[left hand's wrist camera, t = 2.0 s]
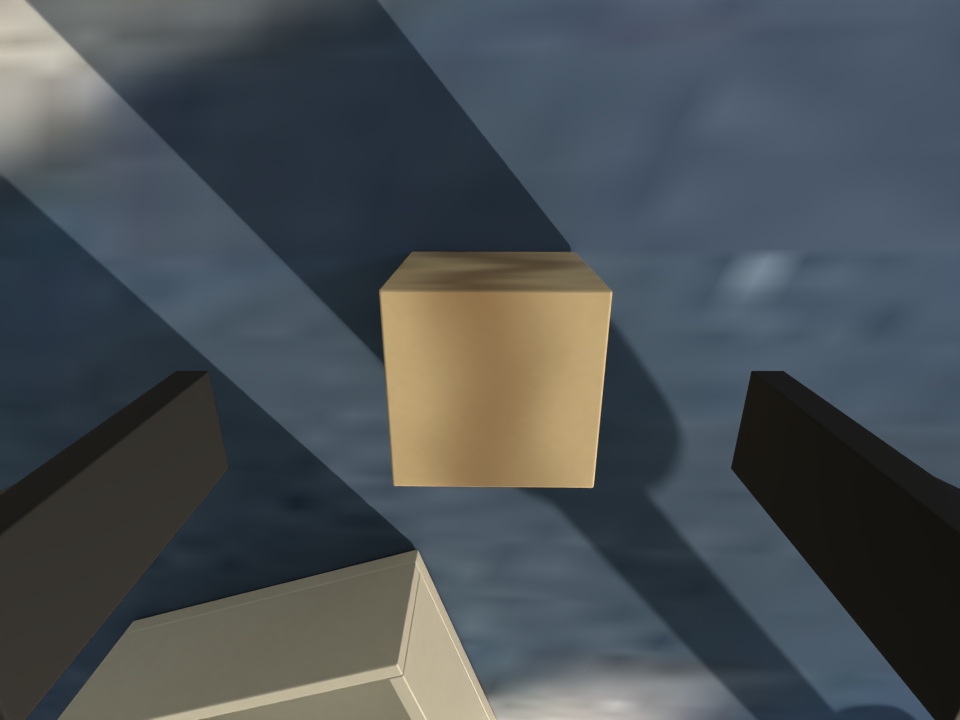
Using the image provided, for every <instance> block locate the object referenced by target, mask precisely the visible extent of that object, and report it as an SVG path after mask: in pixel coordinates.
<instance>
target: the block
mask: <svg viewBox="0 0 960 720" xmlns="http://www.w3.org/2000/svg"><path fill="white" fill-rule="evenodd" d="M379 299H380V312H381V326H382V340H383V353H384V367H385V381H386V395H387V408H388V422H389V436H390V449H391V463H392V477H393V485H394V486H471V487H574V488H592V487H593V486H594V478H595V467H596V457H597V447H598V436H599V426H600V415H601V405H602V394H603V384H604V373H605V363H606V352H607V342H608V332H609V321H610V311H611V300H612V291H611V289H610V288H609V287H608V286H607V285H606V284H605V283H604V282H603V281H602V280H601V279H600V278H599V277H598V276H597V275H596V274H595V273H594V272H593V270H592V269H591V268H590V267H589V266H588V265H587V264H586V263H585V262H584V261H583V260H582V259H581V258H580V257H579V256H578V255H577V254H576V253H575V252H411V253H410V255H409V256H408V257H407V258H406V259H405V260H404V262H403V263H402V264H401V265H400V266H399V268H398V269H397V270H396V271H395V272H394V273H393V275H392V276H391V277H390V278H389V279H388V280H387V282H386V283H385V284H384V285H383V286H382V288H381V289H380V290H379Z"/></svg>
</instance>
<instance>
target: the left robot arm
mask: <svg viewBox="0 0 960 720" xmlns="http://www.w3.org/2000/svg"><path fill="white" fill-rule="evenodd" d="M228 469H229V467H228V462H227V457H226V452H225V448H224V443H223V438H222V433H221V429H220V424H219V419H218V414H217V410H216V405H215V400H214V395H213V391H212V386H211V381H210V376H209V372H208V371H176V372H175V373H173V374H172V375H170V376H169V377H168V378H166V379H165V380H163V381H162V382H160V383H159V384H158V385H156V386H155V387H153V388H152V389H150V390H149V391H148V392H146V393H145V394H143V395H142V396H140V397H139V398H138V399H136V400H135V401H133V402H132V403H130V404H129V405H128V406H126V407H125V408H123V409H122V410H120V411H119V412H118V413H116V414H115V415H113V416H112V417H110V418H109V419H108V420H106V421H105V422H103V423H102V424H100V425H99V426H98V427H96V428H95V429H93V430H92V431H90V432H89V433H88V434H86V435H85V436H83V437H82V438H80V439H79V440H78V441H76V442H75V443H73V444H72V445H71V446H69V447H68V448H66V449H65V450H63V451H62V452H61V453H59V454H58V455H56V456H55V457H53V458H52V459H51V460H49V461H48V462H46V463H45V464H43V465H42V466H41V467H39V468H38V469H36V470H35V471H33V472H32V473H31V474H29V475H28V476H26V477H25V478H23V479H22V480H21V481H19V482H18V483H16V484H14V485H12V486H10V487H8V488H6V489H4V490H2V491H0V720H25V719H26V718H27V717H28V716H29V715H30V713H31V712H32V711H33V710H34V708H35V707H36V706H37V705H38V703H39V702H40V701H41V700H42V698H43V697H44V696H45V695H46V694H47V692H48V691H49V690H50V689H51V687H52V686H53V685H54V684H55V682H56V681H57V680H58V679H59V677H60V676H61V675H62V674H63V673H64V671H65V670H66V669H67V668H68V666H69V665H70V664H71V663H72V661H73V660H74V659H75V658H76V656H77V655H78V654H79V653H80V652H81V650H82V649H83V648H84V647H85V645H86V644H87V643H88V642H89V640H90V639H91V638H92V637H93V636H94V634H95V633H96V632H97V631H98V629H99V628H100V627H101V626H102V624H103V623H104V622H105V621H106V619H107V618H108V617H109V616H110V615H111V613H112V612H113V611H114V610H115V608H116V607H117V606H118V605H119V603H120V602H121V601H122V600H123V598H124V597H125V596H126V595H127V594H128V592H129V591H130V590H131V589H132V587H133V586H134V585H135V584H136V582H137V581H138V580H139V579H140V578H141V576H142V575H143V574H144V573H145V571H146V570H147V569H148V568H149V566H150V565H151V564H152V563H153V561H154V560H155V559H156V558H157V557H158V555H159V554H160V553H161V552H162V550H163V549H164V548H165V547H166V545H167V544H168V543H169V542H170V540H171V539H172V538H173V537H174V536H175V534H176V533H177V532H178V531H179V529H180V528H181V527H182V526H183V524H184V523H185V522H186V521H187V520H188V518H189V517H190V516H191V515H192V513H193V512H194V511H195V510H196V508H197V507H198V506H199V505H200V503H201V502H202V501H203V500H204V499H205V497H206V496H207V495H208V494H209V492H210V491H211V490H212V489H213V487H214V486H215V485H216V484H217V482H218V481H219V480H220V479H221V478H222V476H223V475H224V474H225V473H226V471H227V470H228ZM731 469H732V470H733V471H734V473H735V474H736V475H737V476H738V478H739V479H740V480H741V481H742V482H743V484H744V485H745V486H746V487H747V489H748V490H749V491H750V492H751V494H752V495H753V496H754V497H755V499H756V500H757V501H758V502H759V503H760V505H761V506H762V507H763V508H764V510H765V511H766V512H767V513H768V515H769V516H770V517H771V518H772V520H773V521H774V522H775V523H776V524H777V526H778V527H779V528H780V529H781V531H782V532H783V533H784V534H785V536H786V537H787V538H788V539H789V540H790V542H791V543H792V544H793V545H794V547H795V548H796V549H797V550H798V552H799V553H800V554H801V555H802V557H803V558H804V559H805V560H806V561H807V563H808V564H809V565H810V566H811V568H812V569H813V570H814V571H815V573H816V574H817V575H818V576H819V578H820V579H821V580H822V581H823V582H824V584H825V585H826V586H827V587H828V589H829V590H830V591H831V592H832V594H833V595H834V596H835V597H836V598H837V600H838V601H839V602H840V603H841V605H842V606H843V607H844V608H845V610H846V611H847V612H848V613H849V615H850V616H851V617H852V618H853V619H854V621H855V622H856V623H857V624H858V626H859V627H860V628H861V629H862V631H863V632H864V633H865V634H866V636H867V637H868V638H869V639H870V640H871V642H872V643H873V644H874V645H875V647H876V648H877V649H878V650H879V652H880V653H881V654H882V655H883V656H884V658H885V659H886V660H887V661H888V663H889V664H890V665H891V666H892V668H893V669H894V670H895V671H896V673H897V674H898V675H899V676H900V677H901V679H902V680H903V681H904V682H905V684H906V685H907V686H908V687H909V689H910V690H911V691H912V692H913V694H914V695H915V696H916V697H917V698H918V700H919V701H920V702H921V703H922V705H923V706H924V707H925V708H926V710H927V711H928V712H929V713H930V715H931V716H932V717H933V718H934V719H935V720H960V489H959V488H957V487H955V486H953V485H951V484H948V483H946V482H944V481H942V480H940V479H938V478H936V477H934V476H932V475H931V474H929V473H928V472H927V471H925V470H924V469H922V468H921V467H919V466H918V465H917V464H915V463H914V462H912V461H911V460H909V459H908V458H907V457H905V456H904V455H902V454H901V453H899V452H898V451H897V450H895V449H894V448H892V447H891V446H889V445H888V444H887V443H885V442H884V441H882V440H881V439H880V438H878V437H877V436H875V435H874V434H872V433H871V432H870V431H868V430H867V429H865V428H864V427H862V426H861V425H860V424H858V423H857V422H855V421H854V420H852V419H851V418H850V417H848V416H847V415H845V414H844V413H842V412H841V411H840V410H838V409H837V408H835V407H834V406H832V405H831V404H830V403H828V402H827V401H825V400H824V399H822V398H821V397H820V396H818V395H817V394H815V393H814V392H812V391H811V390H810V389H808V388H807V387H805V386H804V385H802V384H801V383H800V382H798V381H797V380H795V379H794V378H792V377H791V376H790V375H788V374H787V373H785V372H784V371H752V372H751V376H750V381H749V386H748V391H747V395H746V400H745V405H744V410H743V414H742V419H741V424H740V429H739V433H738V438H737V443H736V448H735V452H734V457H733V462H732V466H731Z"/></svg>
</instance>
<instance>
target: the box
mask: <svg viewBox="0 0 960 720" xmlns="http://www.w3.org/2000/svg"><path fill="white" fill-rule="evenodd" d="M58 720H496V719H495V717H494V714H493V712H492V710H491V708H490V706H489V704H488V701H487V699H486V697H485V695H484V693H483V690H482V688H481V686H480V684H479V682H478V680H477V677H476V675H475V673H474V671H473V669H472V667H471V664H470V662H469V660H468V658H467V656H466V654H465V651H464V649H463V647H462V645H461V643H460V641H459V638H458V636H457V634H456V632H455V630H454V628H453V625H452V623H451V621H450V619H449V617H448V614H447V612H446V610H445V608H444V606H443V604H442V601H441V599H440V597H439V595H438V593H437V591H436V588H435V586H434V584H433V582H432V580H431V578H430V575H429V573H428V571H427V569H426V567H425V565H424V562H423V560H422V558H421V556H420V554H419V552H418V550H414V551H410V552H406V553H402V554H398V555H394V556H390V557H386V558H382V559H378V560H374V561H370V562H366V563H362V564H358V565H354V566H350V567H346V568H342V569H338V570H334V571H330V572H326V573H322V574H318V575H314V576H311V577H307V578H303V579H299V580H295V581H291V582H287V583H283V584H279V585H275V586H271V587H267V588H263V589H259V590H255V591H251V592H247V593H243V594H239V595H235V596H231V597H227V598H223V599H219V600H215V601H211V602H207V603H203V604H199V605H195V606H191V607H187V608H183V609H179V610H175V611H171V612H168V613H164V614H160V615H156V616H152V617H148V618H144V619H140V620H136V621H133V622H132V624H131V625H130V626H129V627H128V629H127V630H126V631H125V633H124V635H122V637H121V638H120V639H119V640H118V642H117V643H116V644H115V646H114V647H113V648H112V649H111V651H110V652H109V653H108V655H107V656H106V657H105V659H104V660H103V661H102V662H101V664H100V665H99V666H98V668H97V669H96V670H95V672H94V673H93V674H92V675H91V677H90V678H89V679H88V681H87V682H86V683H85V685H84V686H83V687H82V688H81V690H80V691H79V692H78V694H77V695H76V696H75V697H74V699H73V700H72V701H71V703H70V704H69V705H68V707H67V708H66V709H65V710H64V712H63V713H62V714H61V716H60V717H59V718H58Z"/></svg>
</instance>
